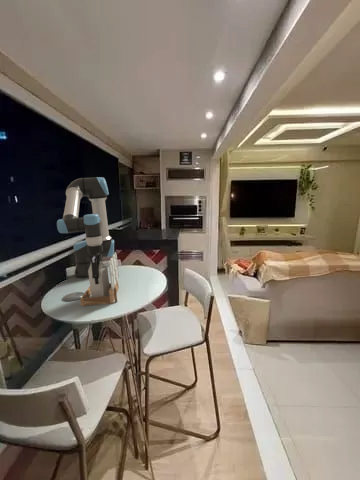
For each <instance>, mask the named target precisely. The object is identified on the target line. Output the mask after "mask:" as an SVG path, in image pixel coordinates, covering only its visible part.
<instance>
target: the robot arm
mask: <svg viewBox="0 0 360 480" xmlns="http://www.w3.org/2000/svg"><path fill="white" fill-rule="evenodd" d="M109 194H110V193H109V188H108V184H107V181H106V179H105V177H102V176H101V177H100V176H99V177H98V176H96V177H80V178H77V179H74V180H73V181H71V182H70V184H69V185H68V186H67V187H66V189H65V196H66V198H65V199H66V200H65V206H64V210H63V211H64V212H63V215H62V218H61V219H60V218H59V219H58V220H57V221H56V228H57V231H58V232H59V233H60V234H72V233H73V234H74V233H81V232H84V233H85V240H81V241H77V242H76V243H74V244H73V255H74V259H75V261H74V262H75V268H74V277H75V278H76V279H77V278H80V279H81V278H82V279H83V278H89V274H88V270H89V267H90V265H92V278H94V283H95V290H101V284H100V277H99V264H100V261H103V258H104V259H105V258H112V256H113V255H114V253H115V240H114V239H112V238H113V237H112V236H110V232H109V224H108V223H109V222H108V216H107V208H106V200H107V199H108V197H107V196H108V195H109ZM83 197H87V198H88V200H89V201H90V203H91V208H92V213H90V214H84V215H83V217H79V215H80V214H79V213H80V203H81V199H82V198H83ZM95 275H96V276H95Z"/></svg>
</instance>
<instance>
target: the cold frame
mask: <svg viewBox="0 0 360 480" xmlns="http://www.w3.org/2000/svg"><path fill="white" fill-rule="evenodd" d="M107 264H108V270H109V271H108V273H109V281H110V282H109V286H110V289H109V295H108V296H102V297H92V296H91V288H90V285H89V286H88V288H87V289H86V290H85V292H83V293H84V295H83V296H82V298H81V299H79V300H80V307H85V306H97V305H107V304H109V305H110V304H114V303H118V294H117V293H118V291H119V289H120V288H119V277H120V275H119V265H118V256H117V252H114V255H113V256H112V257H110V259H109V261H108V263H107Z"/></svg>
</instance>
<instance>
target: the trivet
mask: <svg viewBox="0 0 360 480" xmlns="http://www.w3.org/2000/svg"><path fill="white" fill-rule="evenodd" d="M84 293H85V292H83V291H77V292H76V291H75V292H70V293H68V294H66V295H63V297H62V300H63V301H64V302H75V301H78V300H80V299H81V298H82V296H83V295H84Z"/></svg>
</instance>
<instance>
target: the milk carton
mask: <svg viewBox="0 0 360 480" xmlns="http://www.w3.org/2000/svg"><path fill="white" fill-rule="evenodd" d="M108 270H109V268H108V266H107V265H106V264H105V263H104V261H103V260H102V261H100V264H99V277H100V284H101V290H95V283H94V278H92V265H90V267H89V270H88V274H89V277H88V279H89V286H90V288H91V295H90V297H102V296H110V295H109V289H110V286H109V283H110V276H109V271H108ZM95 276H96V275H95Z"/></svg>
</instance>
